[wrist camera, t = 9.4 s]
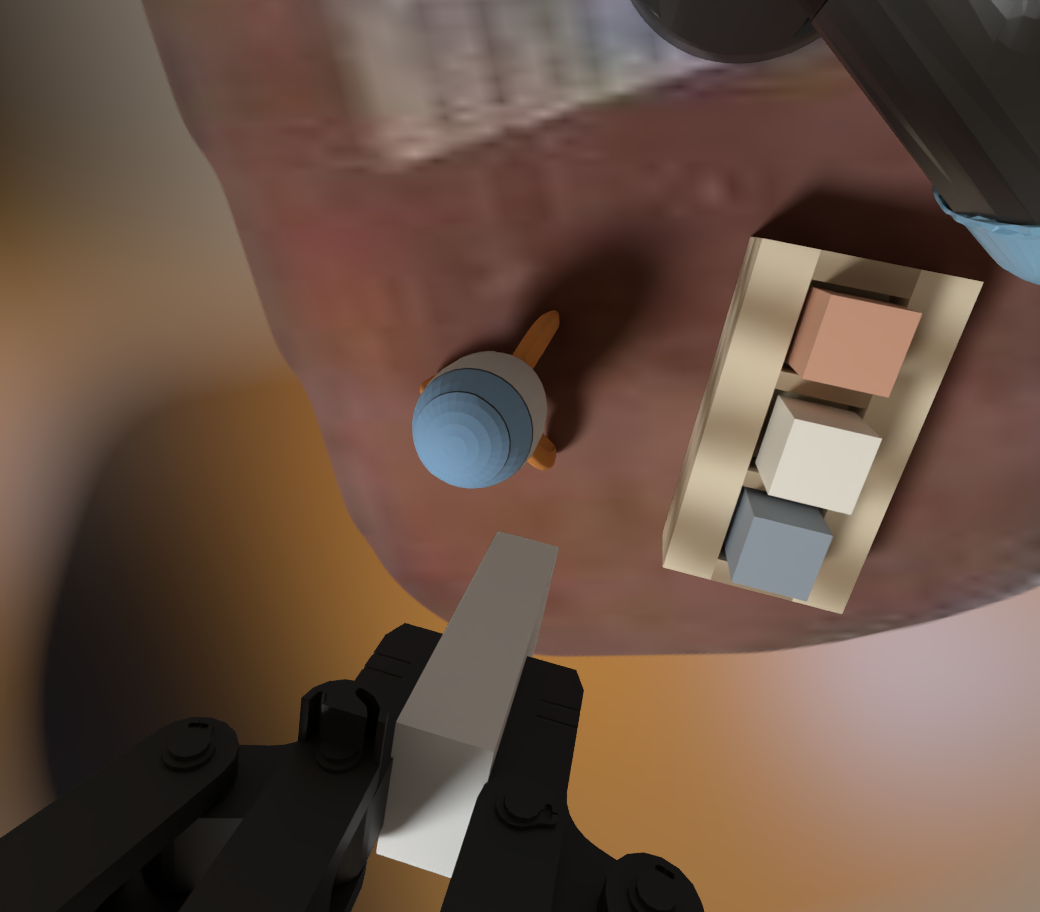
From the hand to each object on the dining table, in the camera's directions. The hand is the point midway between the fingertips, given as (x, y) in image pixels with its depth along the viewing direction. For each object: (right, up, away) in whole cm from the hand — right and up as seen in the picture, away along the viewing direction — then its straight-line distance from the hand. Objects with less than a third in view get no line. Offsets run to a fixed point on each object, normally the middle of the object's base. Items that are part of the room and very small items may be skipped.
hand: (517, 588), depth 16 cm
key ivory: (+16, +4, +22) cm, 28 cm away
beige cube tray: (+17, +6, +26) cm, 32 cm away
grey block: (+15, -1, +25) cm, 30 cm away
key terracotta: (+18, +10, +21) cm, 29 cm away
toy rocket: (-1, +9, +29) cm, 31 cm away
